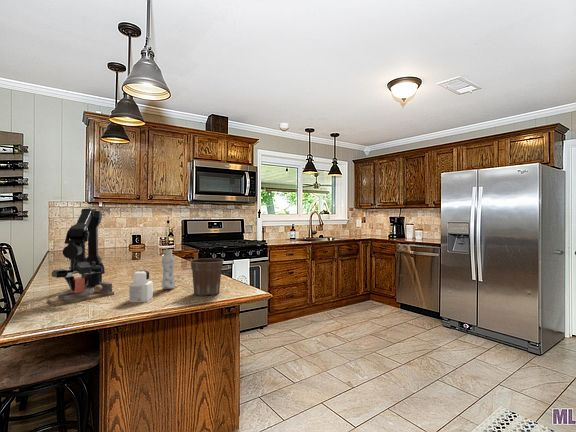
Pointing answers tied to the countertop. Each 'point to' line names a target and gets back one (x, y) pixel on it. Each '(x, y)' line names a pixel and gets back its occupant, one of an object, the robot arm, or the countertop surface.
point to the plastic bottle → (168, 270)
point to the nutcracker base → (83, 295)
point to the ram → (80, 286)
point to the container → (141, 287)
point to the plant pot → (206, 276)
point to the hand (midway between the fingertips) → (77, 290)
